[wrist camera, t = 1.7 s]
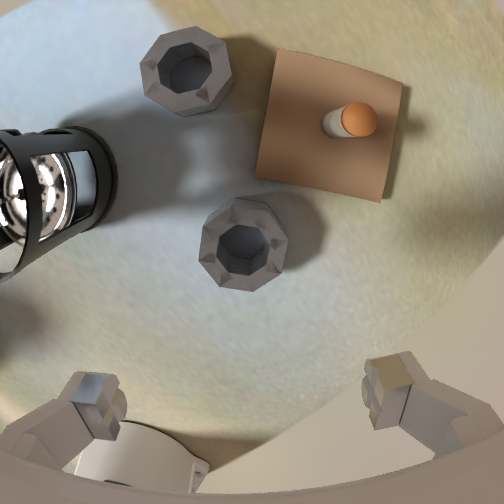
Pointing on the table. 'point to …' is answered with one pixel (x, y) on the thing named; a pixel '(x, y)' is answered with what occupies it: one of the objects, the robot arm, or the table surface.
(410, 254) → the table surface
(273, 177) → the keeper
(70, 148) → the french press
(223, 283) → the grey octagonal nut
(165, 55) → the grey octagonal ring
